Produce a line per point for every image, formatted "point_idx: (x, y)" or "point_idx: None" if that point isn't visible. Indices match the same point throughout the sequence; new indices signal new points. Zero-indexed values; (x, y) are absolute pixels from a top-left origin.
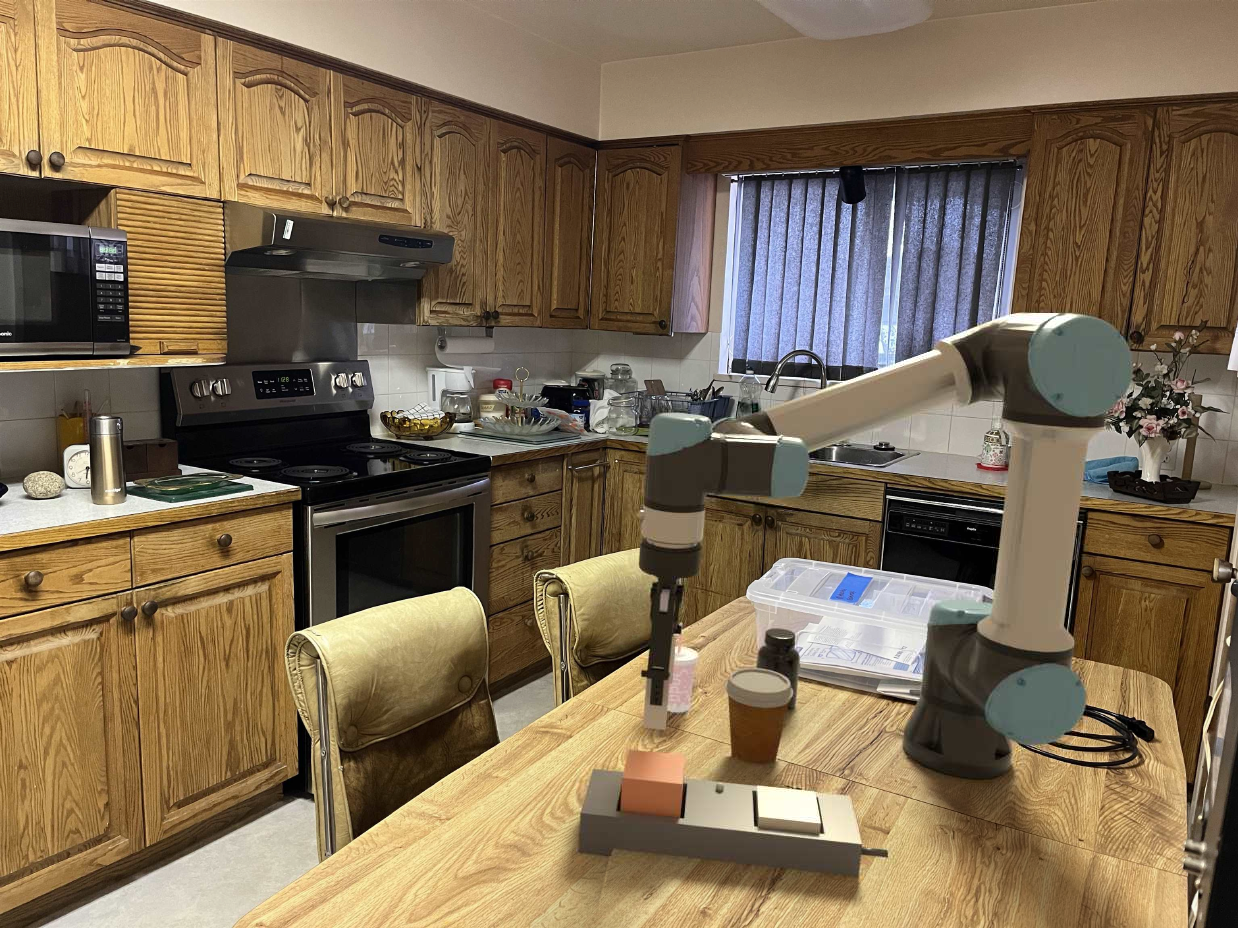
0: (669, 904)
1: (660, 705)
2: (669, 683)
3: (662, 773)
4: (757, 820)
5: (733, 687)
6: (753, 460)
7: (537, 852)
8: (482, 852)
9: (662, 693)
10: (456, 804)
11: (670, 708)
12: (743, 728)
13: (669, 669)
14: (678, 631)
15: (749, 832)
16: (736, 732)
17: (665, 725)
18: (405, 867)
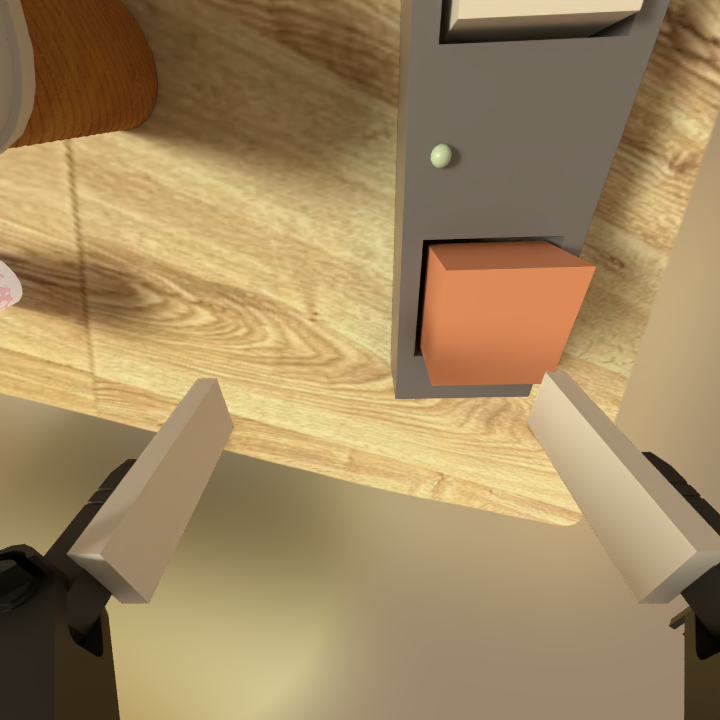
0: (645, 228)
1: (649, 456)
2: (219, 386)
3: (539, 314)
4: (575, 25)
5: None
6: None
7: (503, 398)
8: (501, 440)
9: (707, 502)
10: (414, 474)
11: (15, 287)
12: (96, 83)
13: (198, 423)
14: (26, 572)
15: (648, 53)
16: (105, 112)
17: (571, 380)
18: (523, 482)
